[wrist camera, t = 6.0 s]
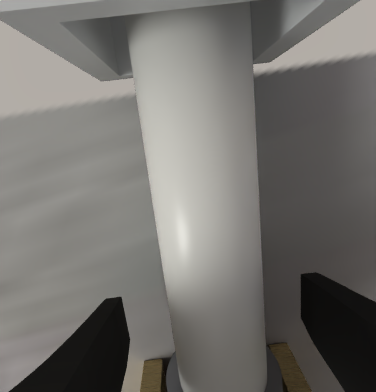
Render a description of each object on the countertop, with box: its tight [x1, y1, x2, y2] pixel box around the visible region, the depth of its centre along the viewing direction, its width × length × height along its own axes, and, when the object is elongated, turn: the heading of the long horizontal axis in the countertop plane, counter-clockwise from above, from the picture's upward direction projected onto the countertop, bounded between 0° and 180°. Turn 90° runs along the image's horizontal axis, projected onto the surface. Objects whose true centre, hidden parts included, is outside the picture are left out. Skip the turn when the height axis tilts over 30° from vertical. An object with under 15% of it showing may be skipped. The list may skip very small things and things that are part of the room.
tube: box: [124, 1, 283, 392], centre depth 9 cm, size 18×4×4 cm, turn 6°
